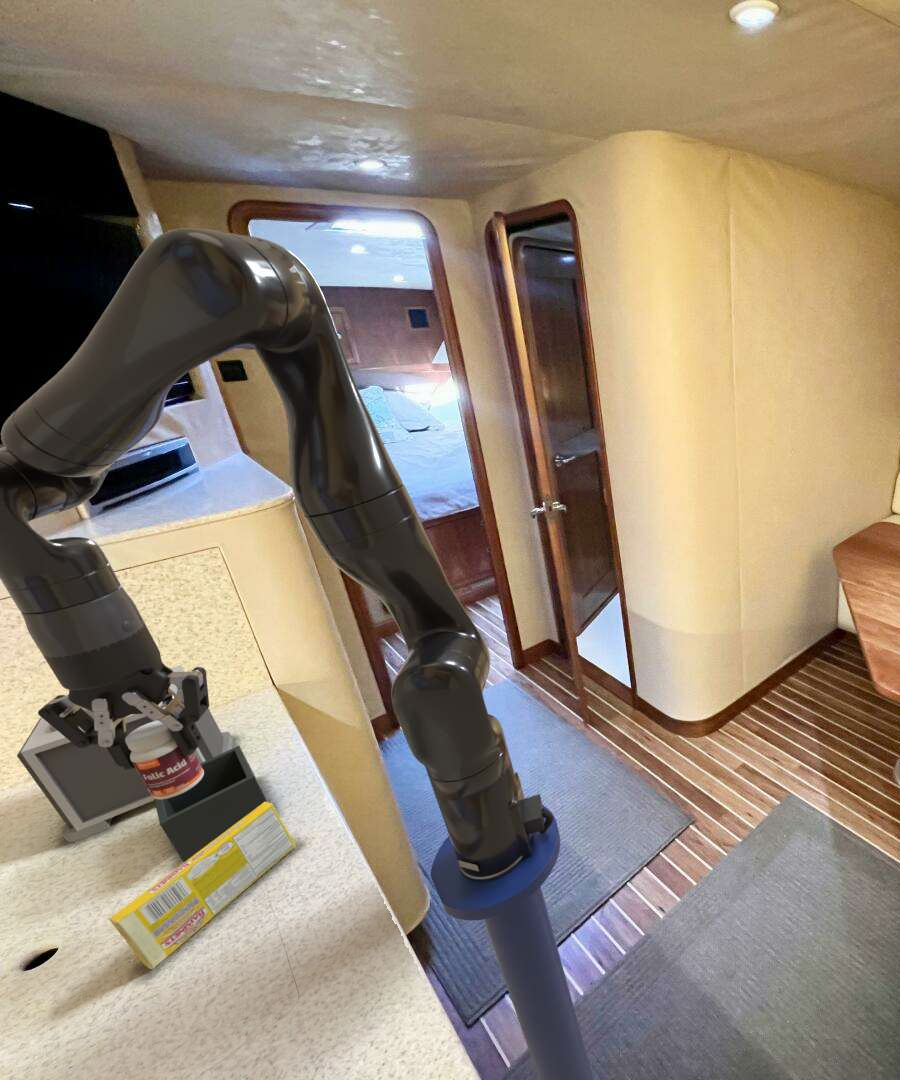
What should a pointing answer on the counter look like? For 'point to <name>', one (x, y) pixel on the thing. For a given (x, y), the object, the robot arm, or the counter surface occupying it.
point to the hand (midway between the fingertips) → (163, 756)
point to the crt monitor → (99, 772)
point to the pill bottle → (162, 761)
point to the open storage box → (210, 803)
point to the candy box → (203, 885)
